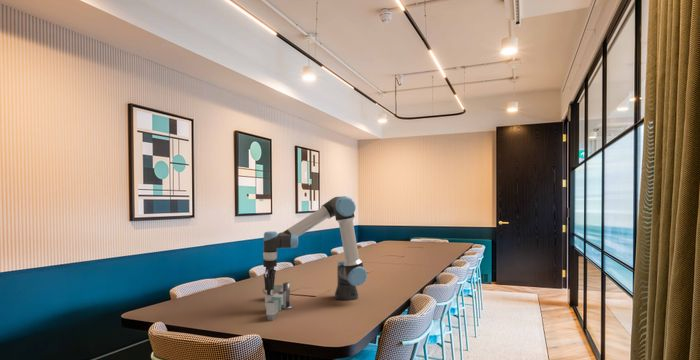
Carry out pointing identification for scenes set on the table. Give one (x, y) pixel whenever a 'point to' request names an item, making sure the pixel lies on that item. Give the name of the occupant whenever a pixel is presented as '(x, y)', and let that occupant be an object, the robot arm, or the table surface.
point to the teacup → (275, 289)
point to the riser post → (287, 295)
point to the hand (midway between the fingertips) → (269, 301)
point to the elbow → (279, 294)
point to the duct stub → (273, 307)
